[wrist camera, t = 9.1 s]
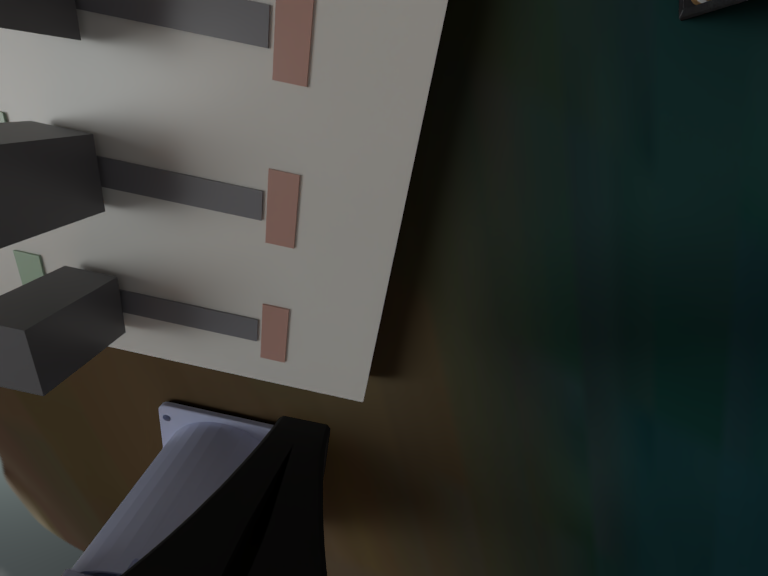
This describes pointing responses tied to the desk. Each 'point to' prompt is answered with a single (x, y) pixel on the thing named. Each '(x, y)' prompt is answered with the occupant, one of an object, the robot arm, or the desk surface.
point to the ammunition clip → (702, 7)
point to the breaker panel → (236, 172)
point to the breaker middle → (45, 179)
